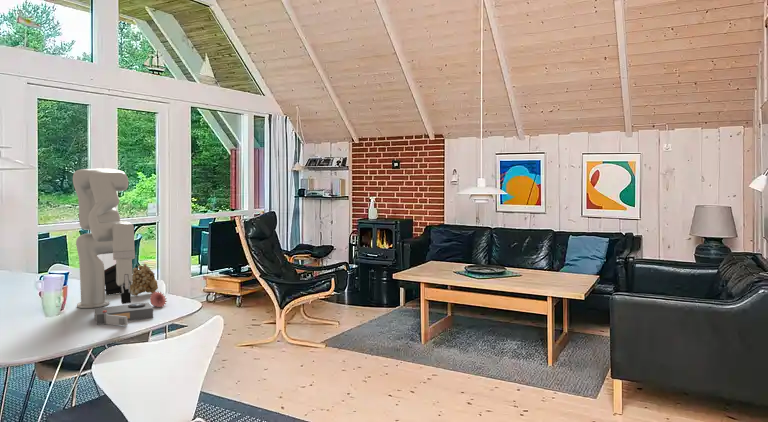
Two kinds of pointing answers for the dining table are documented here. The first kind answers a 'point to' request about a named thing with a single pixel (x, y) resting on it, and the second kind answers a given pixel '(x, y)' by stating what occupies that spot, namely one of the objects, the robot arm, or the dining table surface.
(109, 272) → the black ridged block
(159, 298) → the flower
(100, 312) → the camera body
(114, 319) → the port door
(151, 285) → the mineral formation
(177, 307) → the dining table surface
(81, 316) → the dining table surface
